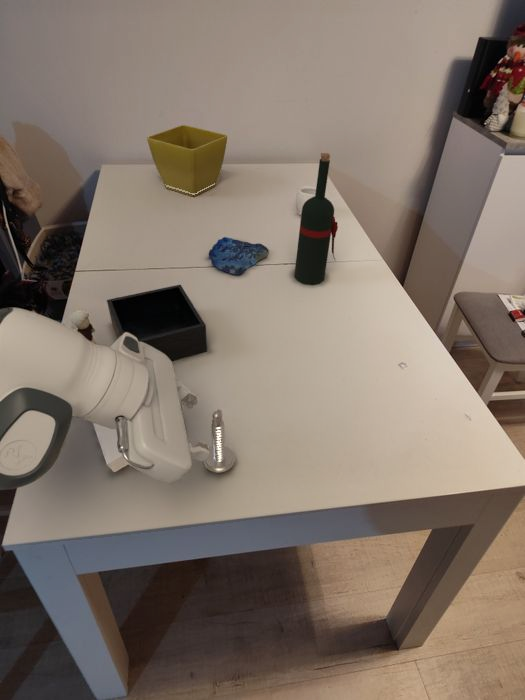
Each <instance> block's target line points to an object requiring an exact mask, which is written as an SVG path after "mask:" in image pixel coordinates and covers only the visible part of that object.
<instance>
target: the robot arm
mask: <svg viewBox="0 0 525 700" xmlns="http://www.w3.org/2000/svg"><path fill="white" fill-rule="evenodd" d="M95 343H96V342H95ZM95 343H93V342H91V341H89V340H88V339H86V338H85V337H84V336H83V335H82V334H81V333H80V332H78V331H77V330H75V329H74V328H72V327H70V326H67V325H66V324H63V323H61V322H59V321H57V320H55V319H52V318H50V317H48V316H45V315H42V314H39V313H37V312H34V311H31V310H28V309H24V308H20V307H11V306H9V307H4V308H0V491H6V490H13V489H14V490H15V489H18V488H22V487H26V486H27V485H30V484H32V483H34V482H36V481H37V480H39V479H40V478H42V477H44V475H46V473H48V472H49V470H50V469H51V468H52V467H53V466H54V464H55V463H56V462H57V460H58V457H59V456H60V453H61V451H62V449H63V446H64V444H65V441H66V439H67V437H68V433H69V430H70V427H71V423H72V419H73V417H77V418H79V419H81V420H84V421H87V422H90V423H92V424H93V423H96V424H98V425H101V426H104V427H107V428H110V429H116V431H117V436H118V441H117V448H118V451H119V452H120V453H122V455H123V457H124V459H125V460H126V462H127V464H128V466H130V467H132V468H133V469H135V470H137V471H138V472H141V474H144V475H146V476H148V477H151V478H153V479H155V480H157V481H161V482H163V483H166V484H173V483H175V482H177V481H178V480H179V479H181V478H182V477H183V476H185V475H186V473H187V472H189V471H190V470H191V468H192V466H193V461H192V460H193V459H194V460H197V461H199V462H200V461H201V462H203V460H205V459H206V458H207V457H208V456H209V455H210V453H209V446H208V444H207V443H204V442H202V441H198V442H196V443H195V445H193V444H192V443H191V442H189V441H188V435H187V430H186V425H185V420H184V416H183V411H182V410H183V409H182V406H183V407H185V408H187V409H192V408H194V407H195V405H196V406H197V404H198V397H197V395H196V393H194V392H192V391H190V390H189V389H188V388H187V387H186V386H185V385H184V384H183V383H182V381H180V380H179V379H177V378H176V375H175V370H174V364H173V361H171V360H170V359H169V358H168V357H167V356H166V355H165V354H164V353H162V352H161V351H159V350H157V349H155V348H154V347H152V346H150V345H148V344H146V343H144V342H138V339H137V338H136V337H135V336H134V335H132V334H130V333H128V332H125V333H124V334H123V335H122V336H120V337H119V338H118V339H117V338H116V339H115V341H114V342H113V343H112V344H111V345H110V346H108V345H104V344H98V343H96V344H95Z"/></svg>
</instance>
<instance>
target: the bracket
mask: <svg viewBox="0 0 525 700" xmlns="http://www.w3.org/2000/svg"><path fill="white" fill-rule="evenodd" d="M92 424H93V427H94V430H95V433H96V436H97V439H98V443H99V446H100V449H101V451H102V454H103V457H104V460H105V463H106V465H107V467H108V468H109V469H110V470H112V472H113V473H116V472H118V471H119V470H122V469H123V468H125V467H126V466H129V464H127V462H126V460H125V459H124V457H123V455H122V453H120V452H119V451H118V448H117V441H118V436H117V431H116V429H110V428H107V427H104V426H101V425H98V424H96V423H93V422H92Z"/></svg>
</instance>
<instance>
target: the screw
mask: <svg viewBox="0 0 525 700" xmlns="http://www.w3.org/2000/svg"><path fill="white" fill-rule="evenodd" d="M210 428H211V446H210V447H208V449H209V453H210V455H209V456H208V457H207V458H206V459H205V460H202V462H203V465H204V467H205V468H206V469H207V470H208V471H210V472H212V473H215V474H216V473H217V474H220V473H224V472H228V471H229V470H230V469H231V468H232V467H233V465H234V464H235V459H236V456H235V453H234V451H233V449H232V448H230V447H229V446H227V445H226V440H225V439H226V438H225V437H226V434H225V421H224V420H223V411H222V410H221V409H220V408H219V409H217V410H216V411H213V412H212V420H211V427H210Z"/></svg>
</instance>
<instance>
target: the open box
mask: <svg viewBox="0 0 525 700" xmlns="http://www.w3.org/2000/svg"><path fill="white" fill-rule="evenodd" d="M106 303H107V307H108V312H109V316H110V320H111V321H110V322H111V325H112V328H113V331H114V334H115V337H116V340H117V339H118V338H119V337H120V336H122V335H123V334H124V333H125V332H128V333H130V334H132V335H134V336H135V337H136V338H137V339H138V342H144V343H146V344H148V345H150V346H152V347H154V348H155V349H157V350H159V351H161V352H162V353H164V354H165V355H166V356H167V357H168V358H169V359H170V360H171V361H172V362H174V361H179V360H182V359H185V358H186V359H187V358H189V357H193V356H196V355H200V354H203V353H207V352H208V341H207V325H206V323H205V322H204V320H203V319H202V317H201V316H200V313H199V312H198V311H197V309H196V306H194V304H193V302H192V301H191V299H190V297H189V296H188V294H187V293H186V291H185V289H184V288H183V286H182V284H175V285H172V286H167V287H161V288H157V289H152V290H148V291H143V292H137V293H133V294H128V295H123V296H119V297H114V298H109V299H106Z"/></svg>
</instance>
